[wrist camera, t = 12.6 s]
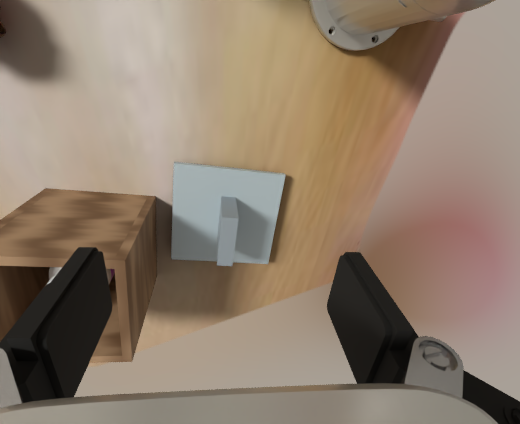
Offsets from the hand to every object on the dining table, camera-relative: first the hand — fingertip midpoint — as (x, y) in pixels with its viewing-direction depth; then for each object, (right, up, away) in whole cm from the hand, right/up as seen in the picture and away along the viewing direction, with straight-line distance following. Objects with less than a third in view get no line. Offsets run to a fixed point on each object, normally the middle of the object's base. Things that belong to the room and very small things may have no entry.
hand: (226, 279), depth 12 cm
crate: (-21, -1, +31) cm, 38 cm away
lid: (-4, +3, +32) cm, 33 cm away
